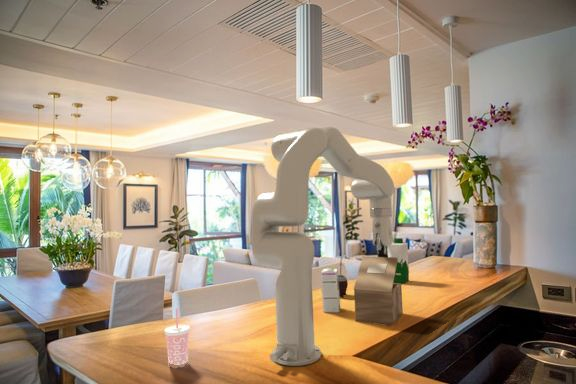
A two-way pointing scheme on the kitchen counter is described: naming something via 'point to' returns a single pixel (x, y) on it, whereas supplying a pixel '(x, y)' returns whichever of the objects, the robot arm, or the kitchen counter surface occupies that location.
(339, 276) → the mate gourd
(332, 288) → the syrup box
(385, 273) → the carton flap
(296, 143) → the robot arm
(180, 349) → the beverage cup
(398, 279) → the milk carton
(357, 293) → the carton
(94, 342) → the kitchen counter surface
